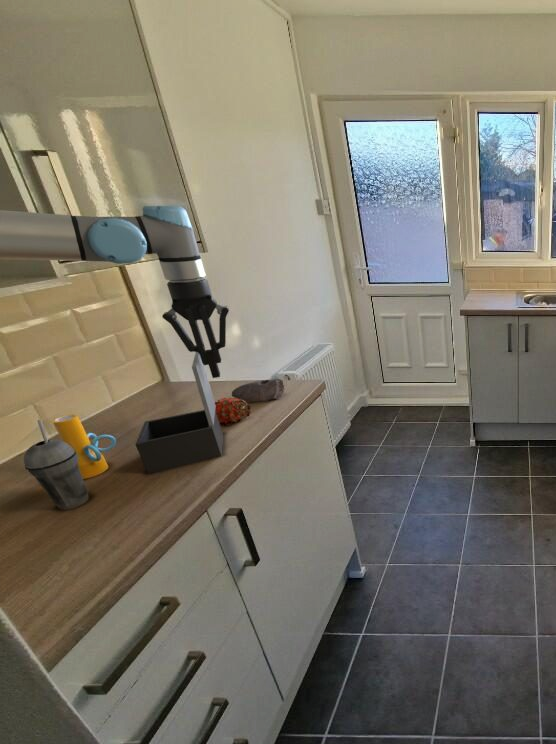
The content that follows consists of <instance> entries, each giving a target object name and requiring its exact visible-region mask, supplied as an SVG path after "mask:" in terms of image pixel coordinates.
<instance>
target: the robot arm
mask: <svg viewBox="0 0 556 744" xmlns="http://www.w3.org/2000/svg"><path fill="white" fill-rule="evenodd" d="M141 210H142V215H135V216H87V215H86V216H85V215H70V214H60V213H59V214H58V213H47V212H46V213H45V212H44V213H43V212H32V211H31V212H30V211H20V210H19V211H18V210H17V211H16V210H6V209H5V210H3V209H0V260H13V261H14V260H17V261H18V260H19V261H22V260H23V261H66V262H67V261H70V262H71V261H72V262H73V261H75V262H105V263H106V262H107V263H114V264H118V265H124V264H125V265H126V264H129V265H130V264H133V263H136V262H138V261H140V260H141V259H142V258H143V257H144V256H145V255H154V254H156V255H157V257H158V261H159V264H160V268H161V272H162V274H163V277H164V279H165V280H167V281H168V282H167V283H166V286H167V289H168V292H169V295H170V299H171V308H170V309H169V310H168V311H165V312H164V313H162V317H161V318H162V319H164V320H165V321H166V322H167V323H169V324H170V325H171V327H172V328H173V330H174V331H175V333H176V334H177V336H178V338H180V340H181V342H182V343H183V345H184V346H185V348H186V349H187V351H188V352H190V353H193V352H194V353H196V352H198V353H199V354H200V357H201V360H202V363H203V365H204V366H208V367H209V371H210V374H211V378H212V379H218V378H221V371H220V368H219V364H222V357H221V356H222V355H221V353H220V349H222V348H225V347H226V345H227V344H226V343H227V342H226V341H227V340H226V339H227V338H226V337H227V336H226V334H227V316H228V314H229V311H230V307H228V305H222V304H219V303H217V301H216V299H215V298H214V297H213V293H212V290H211V287H210V284H209V281H208V279H206V277H207V274H206V270H205V267H204V264H203V261H202V257H201V253H200V250H199V246H198V243H197V239H196V236H195V233H194V232H195V231H194V227H193V226H192V224H191V220H190V217H189V215H188V212H187V210H186V209H185V208H184V207H182V206H180V205H145V206H143V207H142V209H141ZM215 310H216V313H217V314H218V315H219V321H218V322H219V324H218V326H219V328H218V329H219V330H218V333H219V334H218V335H219V338H218V340H219V341H218V342H217V339H216V336H215V332H214V329H213V325H212V321H211V317H212V315H213V313H214V312H215ZM178 315H179V316H181V317H182V318H183V319H185V320H187V321H188V325H189V326H190V329H191V333H192V336H193V339H194V342H193V340H192V339H191V338H190V336H189V334H188V333H187V331H186V330H185V328H184V327H183V325H182V323H181V322H180V321H179V319H178ZM198 321H201V322H202V324H203V328H204V330H205V332H206V337H207V341H208V343H209V347H210V349H206V346H205V343H204V340H203V336H202V333H201V329H200V327H199V323H198Z"/></svg>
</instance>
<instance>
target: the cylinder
mask: <svg viewBox="0 0 556 744" xmlns="http://www.w3.org/2000/svg"><path fill="white" fill-rule="evenodd" d="M51 422H52V424H53V426H54V428H55V430H56V432H57V434H58V436H59V438H60V439H61V440H60V441H62V442H65V443H67V444H68V445H70V446H71V447H72V449H73V450H75V452H76V456H77V461H78V462H77V464H78V467H79V469H80V472H81V475H82V478H83V480H85V479H90V478H93V477H96V476H98V475H101V474H102V473H104V472H105V471H107V470H108V469H109V465H108V463H107V461H106V459H105V457H104V455H103V452H104V453H105V452H108V451H110V450H112V449H114V447H115V446H116V444H117V440H116V438H115V437H114V436H113V435H110V434H100V435H98V436H97V434H95V433H94V432H88V433H87V432H86V430H85V428H84V426H83V424H82V422H81V420H80V418H79V415H78V414H77V413H70V414H64V415H60V416H57V417H55V418H54V419H53V420H52V421H51ZM90 437H91V438H92V440H90ZM102 439H109V440H110V442H111V443H110V444H109V446H107V447H104V448H102V447H101V448H100V447H98V446H99V440H102Z"/></svg>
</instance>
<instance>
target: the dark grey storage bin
mask: <svg viewBox="0 0 556 744" xmlns="http://www.w3.org/2000/svg"><path fill="white" fill-rule="evenodd" d="M223 436H224V433H223V431H222V427H221V423H219V421H218V418H217V415H216V411H215V417H214V426H209V423H208V420H207V416H206V413H205V410H204V409H203V410H196V411H192V412H191V411H190V412H186V413H182V414H177V415H172V416H167V417H161V418H156V419H150V420H146V421H144V423H143V425H142V427H141V430H140V432H139V435H138V437H137V439H136V442H135V447H136V450H137V451H138V454H139V457H140V458H141V461H142V464H143V466H144V468H145V471H146V473H147V475H151V474H154V473H158V472H161V471H166V470H169V469H170V470H171V469H174V468H179V467H182V466H186V465H191V464H195V463H199V462H203V461H207V460H211V459H215V458H220V457H222V456H223V455H222V454H223V440H224V439H223V438H224V437H223Z"/></svg>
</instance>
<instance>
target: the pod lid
mask: <svg viewBox="0 0 556 744" xmlns="http://www.w3.org/2000/svg"><path fill="white" fill-rule="evenodd" d="M191 370H192V372H193V376H194V380H195V383H196V386H197V389H198V393H199V397H200V399H201V402H202V406H203V410H205V413H206V416H207V420H208V423H209V426H214V417H215V407H216V405H215V402H216V401H215V398H214V395H213V392H212V387H211V385H210V381H209V378H208V374H207V369H206V367H205V365H203V363H202V360H201V357H200V354H199V353H198V352H194V358H193V361H192V365H191Z"/></svg>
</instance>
